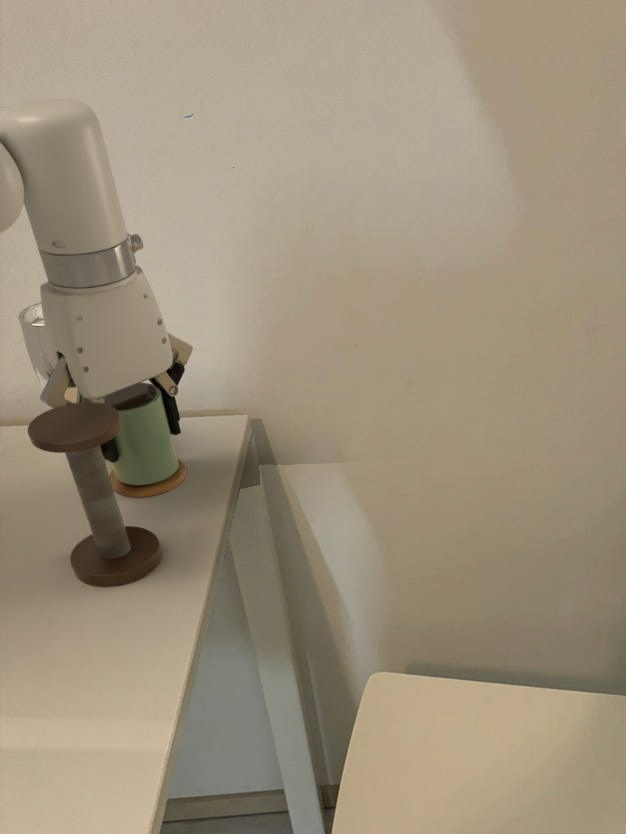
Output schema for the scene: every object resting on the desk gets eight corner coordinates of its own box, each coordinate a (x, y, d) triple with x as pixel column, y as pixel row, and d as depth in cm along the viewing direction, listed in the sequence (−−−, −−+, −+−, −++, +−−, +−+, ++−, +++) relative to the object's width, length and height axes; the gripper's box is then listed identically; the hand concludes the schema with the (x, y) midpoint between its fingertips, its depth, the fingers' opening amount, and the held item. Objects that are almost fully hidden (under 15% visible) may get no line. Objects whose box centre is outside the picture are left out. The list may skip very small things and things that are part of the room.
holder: (60, 586, 83) (7, 445, 74) (91, 535, 89) (45, 399, 80) (147, 587, 83) (105, 446, 74) (172, 536, 89) (135, 400, 79)
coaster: (99, 496, 94) (98, 491, 94) (123, 458, 100) (122, 453, 99) (174, 497, 94) (173, 492, 93) (194, 459, 100) (193, 454, 99)
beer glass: (137, 451, 101) (100, 315, 91) (72, 470, 98) (26, 331, 88) (117, 425, 105) (78, 292, 95) (54, 443, 102) (8, 308, 92)
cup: (105, 485, 94) (82, 411, 88) (126, 452, 99) (105, 381, 93) (169, 485, 94) (149, 412, 88) (186, 453, 98) (168, 381, 93)
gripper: (150, 228, 89) (190, 402, 101) (-26, 279, 80) (41, 464, 91) (196, 246, 85) (232, 424, 97) (17, 301, 76) (81, 491, 87)
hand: (139, 442), depth 94 cm, fingers closed on cup, 6 cm apart
